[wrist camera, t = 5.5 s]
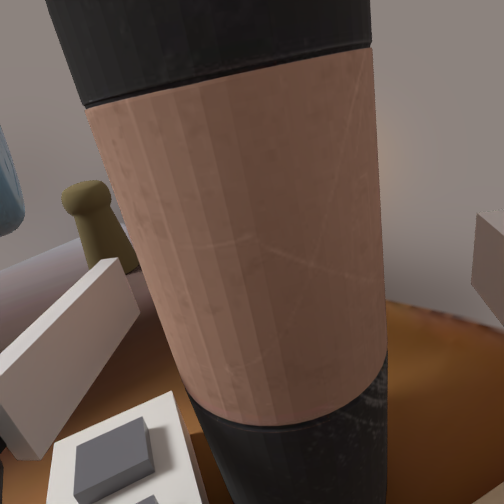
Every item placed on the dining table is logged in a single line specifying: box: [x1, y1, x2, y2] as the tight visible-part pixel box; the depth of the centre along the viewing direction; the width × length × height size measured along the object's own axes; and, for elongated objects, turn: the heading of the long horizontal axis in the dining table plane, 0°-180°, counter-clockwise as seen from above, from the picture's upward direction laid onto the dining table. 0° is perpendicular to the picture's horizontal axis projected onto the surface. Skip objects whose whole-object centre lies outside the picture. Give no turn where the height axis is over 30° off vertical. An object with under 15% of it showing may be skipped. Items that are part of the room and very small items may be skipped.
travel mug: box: [45, 0, 388, 504], centre depth 13 cm, size 8×8×20 cm
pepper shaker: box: [61, 180, 139, 274], centre depth 42 cm, size 6×6×11 cm
